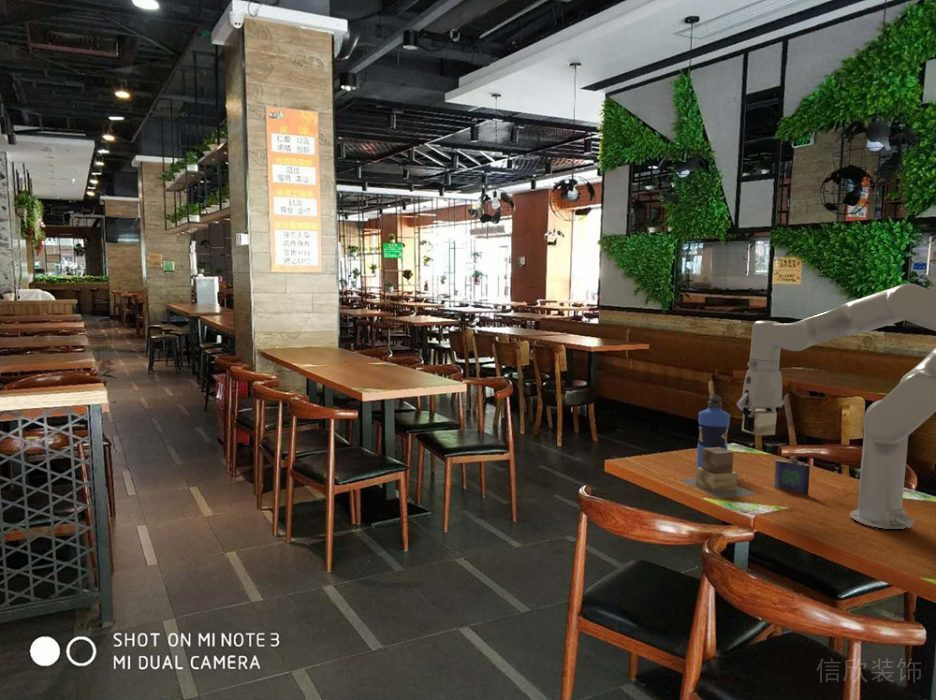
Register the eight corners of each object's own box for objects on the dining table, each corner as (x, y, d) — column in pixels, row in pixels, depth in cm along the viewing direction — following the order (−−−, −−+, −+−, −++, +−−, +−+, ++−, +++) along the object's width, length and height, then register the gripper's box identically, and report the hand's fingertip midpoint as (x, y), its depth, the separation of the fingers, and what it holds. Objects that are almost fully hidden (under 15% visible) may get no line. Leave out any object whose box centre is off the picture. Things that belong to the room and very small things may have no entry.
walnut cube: (732, 472, 193) (733, 452, 193) (715, 473, 191) (716, 453, 191) (718, 466, 199) (719, 447, 198) (701, 468, 197) (702, 448, 196)
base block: (736, 489, 193) (737, 473, 193) (713, 492, 191) (714, 475, 190) (718, 481, 201) (719, 465, 200) (695, 483, 198) (696, 467, 198)
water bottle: (694, 473, 212) (698, 396, 209) (696, 466, 220) (700, 391, 218) (726, 477, 208) (730, 398, 206) (727, 469, 217) (731, 393, 214)
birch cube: (774, 434, 183) (776, 413, 182) (757, 435, 181) (759, 414, 180) (758, 429, 189) (760, 408, 188) (741, 430, 187) (743, 409, 186)
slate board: (757, 497, 189) (757, 494, 189) (719, 501, 185) (719, 498, 185) (715, 478, 206) (715, 476, 206) (679, 482, 202) (679, 479, 202)
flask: (772, 489, 196) (775, 454, 195) (775, 487, 198) (777, 452, 197) (806, 496, 190) (809, 460, 189) (809, 494, 193) (812, 458, 192)
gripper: (748, 368, 176) (742, 434, 179) (799, 367, 182) (793, 431, 184) (728, 364, 183) (723, 428, 186) (778, 363, 189) (772, 425, 191)
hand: (758, 429), depth 185 cm, fingers closed on birch cube, 6 cm apart
